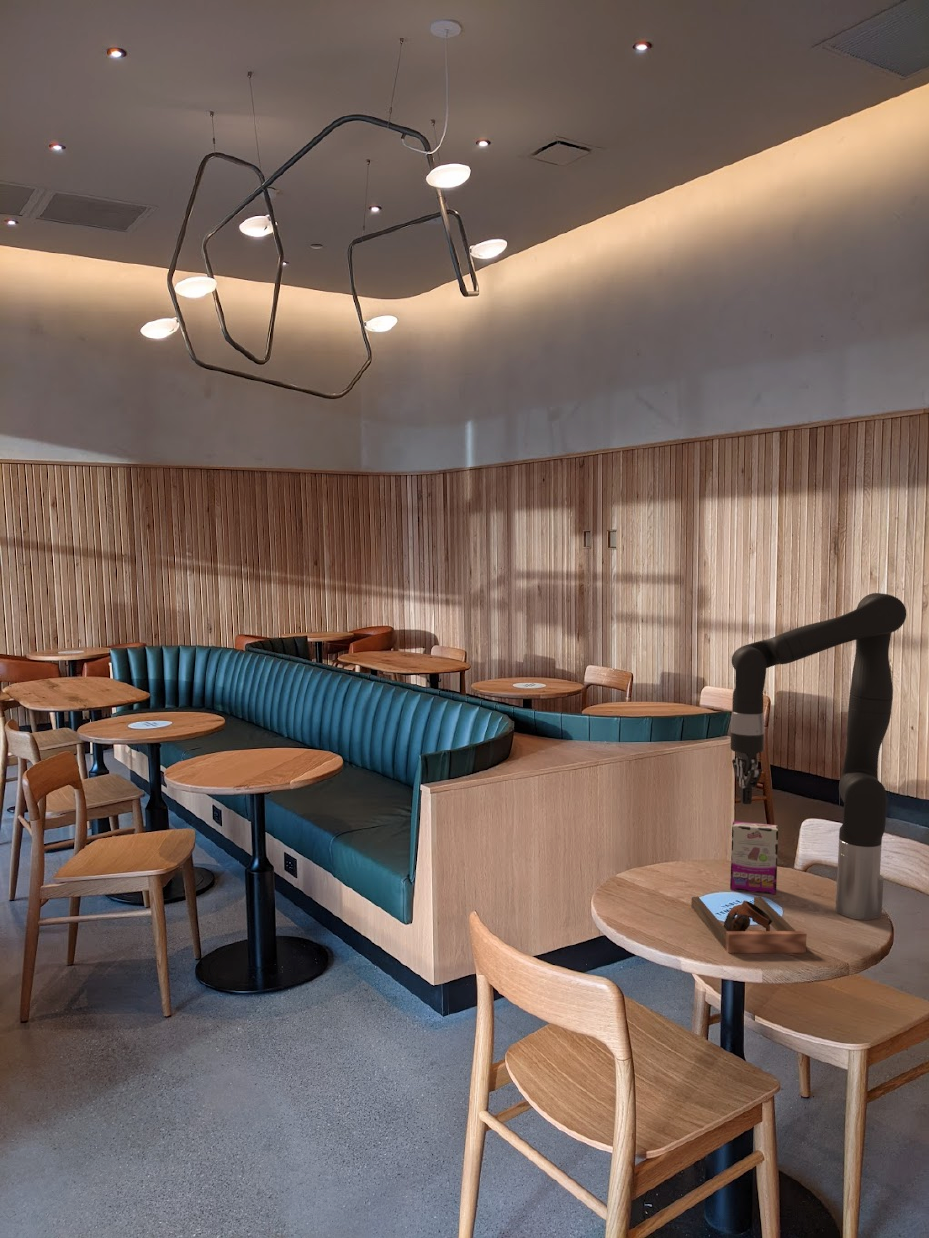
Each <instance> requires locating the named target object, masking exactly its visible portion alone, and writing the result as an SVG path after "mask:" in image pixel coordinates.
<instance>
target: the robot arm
mask: <svg viewBox="0 0 929 1238" xmlns="http://www.w3.org/2000/svg"><path fill="white" fill-rule="evenodd" d="M906 618H907V608H906V606H905V604H904V603H903V602H902V600H900V599H899V598H898V597H896V596H893V595H892V594H887V593H880V592H873V593H870V594H867V595H866V596H865V595H864V597H863V598H861V600H860V601H859V602H858V604H857V606H856V608H855V609H854V610H852V611H850V612H847V613H844V614H843V615H840V616H837V617H832V618H830V619H827V620H823V621H818V622H814V623H811V624H810V623H809V624H806V625H802V626H800V627H797V628H794V629H790V630H788V631H785V632H783V633H780V634H778V635H775V636H773V637H770V638H767V639H763V640H759V641H754V642H751V643H747V644H744V645H742V646H740V647H739V648H737V649H736V650H735V651H734V652H733V654H732V656H731V665H732V667H733V669H734V671H735V681H734V682H735V687H734V689H733V693H732V705H731V706H732V708H731V709H732V710H731V711H732V712H731V719H730V750H731V751H733V752H736V755H735V756H736V757H735V758H734V759H731V760H732V761H731V763H732V767H733V768H732V769H733V773H734V776H735V779H736V783H738V784H739V785H738V786H739V787H740V803H741V804H743V805H751V804H752V802H753V801H752V800H753V799H752V797H753V792H752V791H753V789H754V788H757V786H758V783H759V781H760V779H761V777H762V773H763V772H762V769H759V768H758V767H759V761H758V754H760V753H762V752H763V751H764V749H765V747H764V743H765V740H764V739H765V719H764V717H765V716H764V688H765V683H766V677H767V669H768V668H770V667H771V668H772V667H774V666H777V665H787V664H790V663H793V662H796V661H798V660H799V661H800V660H802V659H804V658H807V657H810V656H813V655H816V654H818V653H821V652H822V651H826V650H828V649H831V648H833V647H836V646H837V647H838V646H840V645H843V644H845V643H846V644H847V643H849V642H852V641H855V655H854V659H853V660H854V661H853V668H852V675H851V683H850V690H849V698H848V706H847V707H848V710H847V723H846V725H847V727H846V748H845V749H846V750H845V756H844V761H843V765H842V770H841V774H840V778H839V781H838V782H839V783H838V784H839V785H838V792H839V796H840V799H841V800H842V801H843V815H842V816H843V817H842V818H843V819H842V824H841V826H840V827H839V829H838V831H839V832H838V834H839V835H838V855H837V875H836V893H835V911H836V912H837V914H840V915H842V916H843V917H845V918H846V917H847V918H850V919H854V920H862V921H864V920H866V921H867V920H868V921H869V920H875V919H876V918H882V916H883V899H884V897H883V895H884V879H885V878H884V876H883V875H881V864H882V863H881V862H882V859H881V858H882V843H883V842H882V841H883V836H884V834H885V830H886V823H887V809H888V806H887V805H888V795H887V791H886V788H885V787H884V785H883V783H882V782H881V781H880V780H879V776H878V775H879V770H878V769H879V755H880V749H881V746H882V744H883V741H884V738H885V736H886V733H887V731H888V728H889V726H890V721H891V716H892V708H893V700H894V699H893V695H894V694H893V693H894V689H893V688H894V686H893V679H892V678H893V677H892V672H891V665H890V657H889V653H890V652H889V649H890V643H891V637H892V633H894V632H896V631H898V630H899V629H900V628H901V627H902V626H903V625H904V624H905V621H906Z"/></svg>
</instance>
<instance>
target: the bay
mask: <svg viewBox="0 0 929 1238" xmlns="http://www.w3.org/2000/svg"><path fill="white" fill-rule="evenodd" d="M690 903H691V904H690V905H691V909H692V908H693V909H694V910H693V909H692V910H693V912H695V914H696V913H697V914H696V915H697V916H698V918H701V919H702V920H701V919H700V920H701V921H702V923H705V924H704V925H705V926H706V927H707V929H708V928H709V929H708V930H709V931H710V932H711V933H712V935H713V936H714V937H715V938H716V940H717V941H718V942H719V944H720V945H721V947H723V949H724V950H725V951H726V952H727V954H763V953H764V954H765V953H767V954H769V953H770V954H771V953H773V954H775V953H776V954H777V953H779V954H781V953H783V954H785V953H788V954H789V953H791V954H792V953H793V954H795V953H797V954H799V953H802V954H803V953H804V954H805V953H807V951H806V950H807V933H806V932H805V931H804V930H796V929H795V928H794V927H792V925H790V924H789V923H788V922H787V920H785V919H784V918H783V917H782V915H780V914H779V913H778V912H777V911H776V910H775V909H774V908H773V907H772V906H771V905H770V904H769V903H768V902H767V900H765V899H764V898H762V896H753V904H754V905H755V906H757V907H758V908H760V909H761V910H762V911H764V912H765V913H766V914H767V915H768V916H769V917H770V918H771V919H772V923H771V924H770V926H771V927H773V928H774V929H775V930H770V931H766V930H763V931H762V930H758V931H757V930H755V931H754V930H753V931H751V930H746V931H727V930H726V929H725V928H724V924H723V923H721V922H720V920H719V919H718V918H717V917H716V916H715V915H714V914H713V912H712V911H711V909H709V908H708V906H707V905H706V904H705V903H704V902H703V900H702V899H701V898H700V897H699V896H691V902H690Z"/></svg>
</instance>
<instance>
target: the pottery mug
mask: <svg viewBox="0 0 929 1238" xmlns="http://www.w3.org/2000/svg"><path fill="white" fill-rule="evenodd" d="M751 921H752V922H753V923H756V924H757V925H759V926H762V927H763V928H764V929H765V931H771V923H772V919H771V918H770V917H769V916H768V915H767V914H766V913H765V912H764V911H762V910H761V909H760V908H758V907H757V906H755V905H754V903H753V902H750V901H748V900H743V902H741V904H738V905H734V906H733V907H732V908H731V909H730V910H729V911H728V913H727V914H726V918H725V919H724V921H723V922H724V923H723V926H724V928H725V929H726V930H727V931H748V928H749V927H750V926H751Z"/></svg>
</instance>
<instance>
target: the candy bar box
mask: <svg viewBox="0 0 929 1238" xmlns="http://www.w3.org/2000/svg"><path fill="white" fill-rule="evenodd" d="M778 847H779V827H778V824H768V823H767V824H766V823H757V822H755V823H754V822H745V821H744V822H743V821H734V820H733V821H732V824H731V851H730V881H729V882H730V884H729V889H730V890H733V891H742V892H750V893H759V894H760V893H761V894H769V895H776V894H777V886H778V885H777V883H778V880H777V879H778V851H779V849H778Z"/></svg>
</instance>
